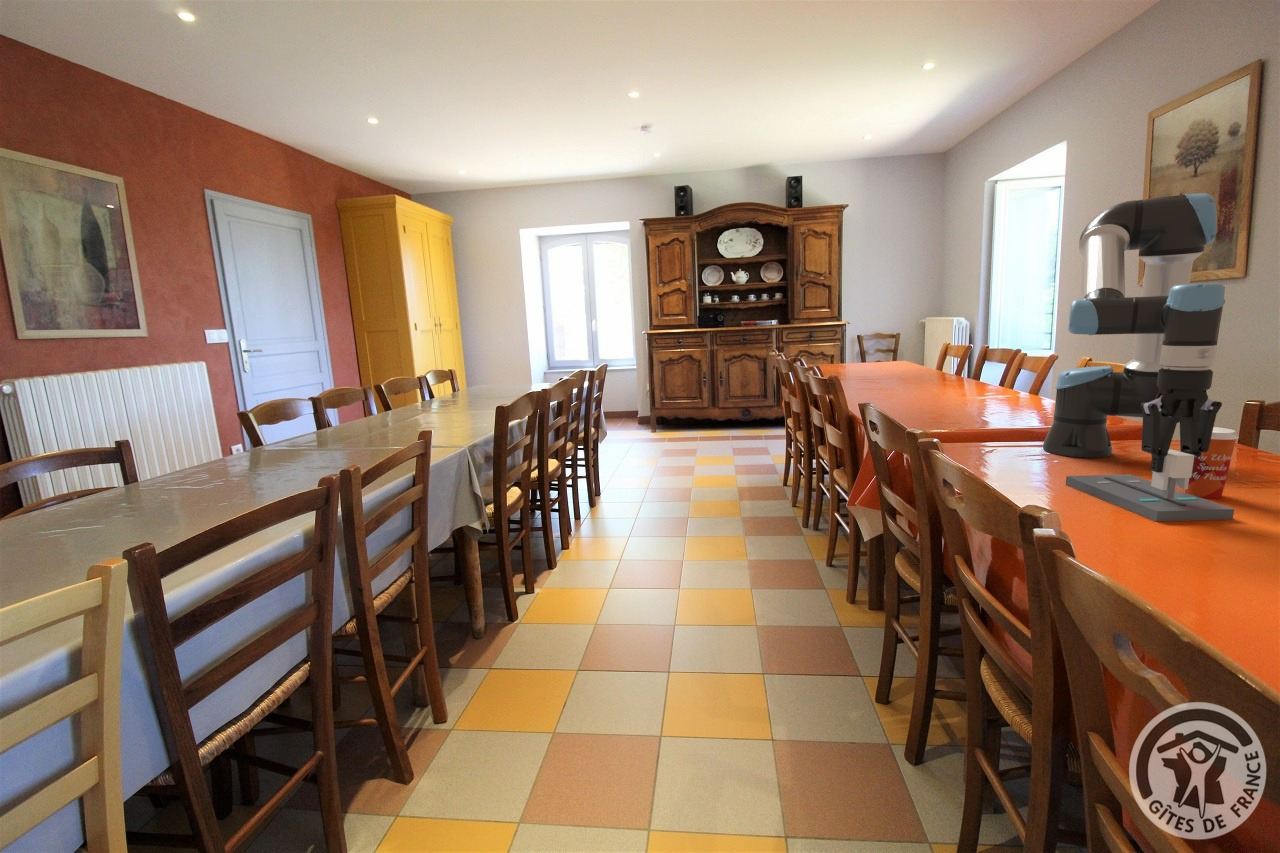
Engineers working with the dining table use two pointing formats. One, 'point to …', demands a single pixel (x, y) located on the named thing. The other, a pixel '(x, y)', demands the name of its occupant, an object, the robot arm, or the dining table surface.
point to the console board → (1148, 498)
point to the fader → (1178, 470)
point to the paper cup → (1213, 465)
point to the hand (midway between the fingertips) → (1169, 487)
